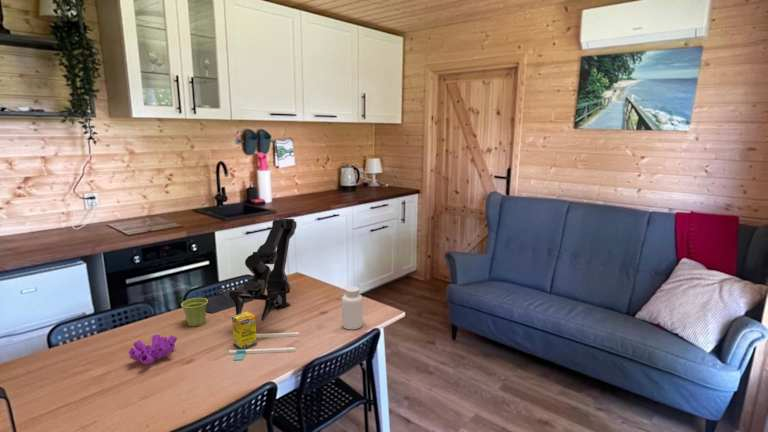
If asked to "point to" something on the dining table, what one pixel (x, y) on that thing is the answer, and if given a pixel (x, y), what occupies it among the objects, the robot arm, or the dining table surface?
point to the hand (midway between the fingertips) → (249, 320)
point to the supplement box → (244, 330)
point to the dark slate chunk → (223, 301)
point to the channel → (241, 352)
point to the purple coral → (152, 349)
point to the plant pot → (195, 311)
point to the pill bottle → (352, 308)
